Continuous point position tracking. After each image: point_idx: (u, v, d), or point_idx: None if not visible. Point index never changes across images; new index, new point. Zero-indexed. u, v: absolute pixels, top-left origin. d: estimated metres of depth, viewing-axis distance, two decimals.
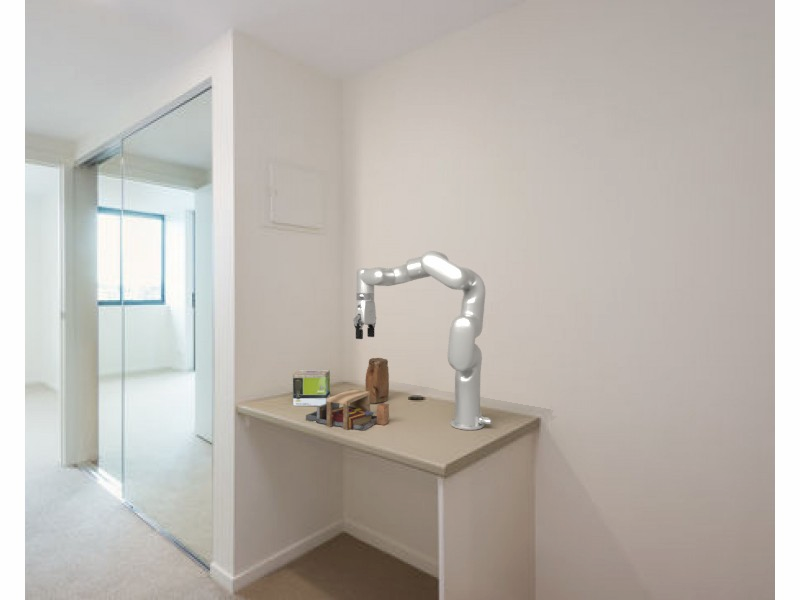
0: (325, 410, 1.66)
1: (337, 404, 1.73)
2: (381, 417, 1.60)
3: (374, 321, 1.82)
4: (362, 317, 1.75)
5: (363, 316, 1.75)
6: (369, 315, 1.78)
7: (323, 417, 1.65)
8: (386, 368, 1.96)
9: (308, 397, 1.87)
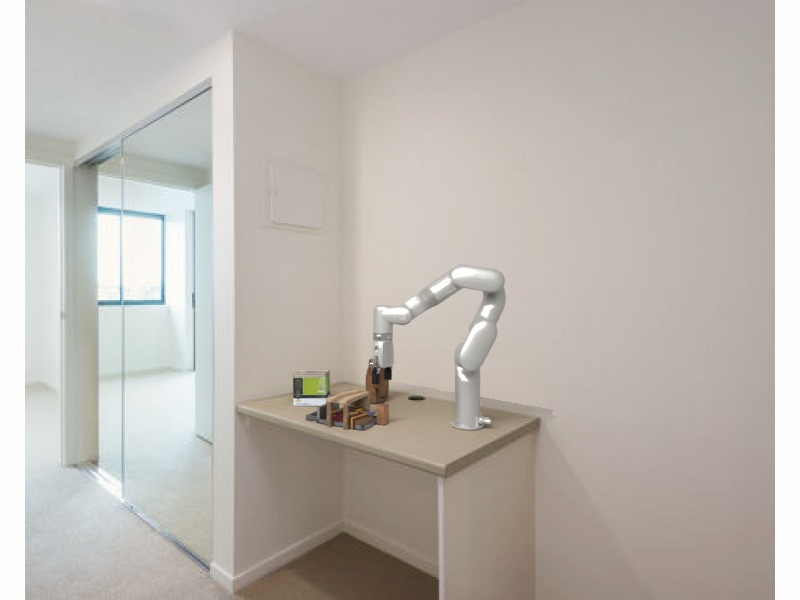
0: (325, 410, 1.66)
1: (337, 404, 1.73)
2: (381, 417, 1.60)
3: (392, 363, 1.64)
4: (379, 360, 1.57)
5: (381, 359, 1.57)
6: (387, 357, 1.60)
7: (323, 417, 1.64)
8: None
9: (308, 397, 1.87)
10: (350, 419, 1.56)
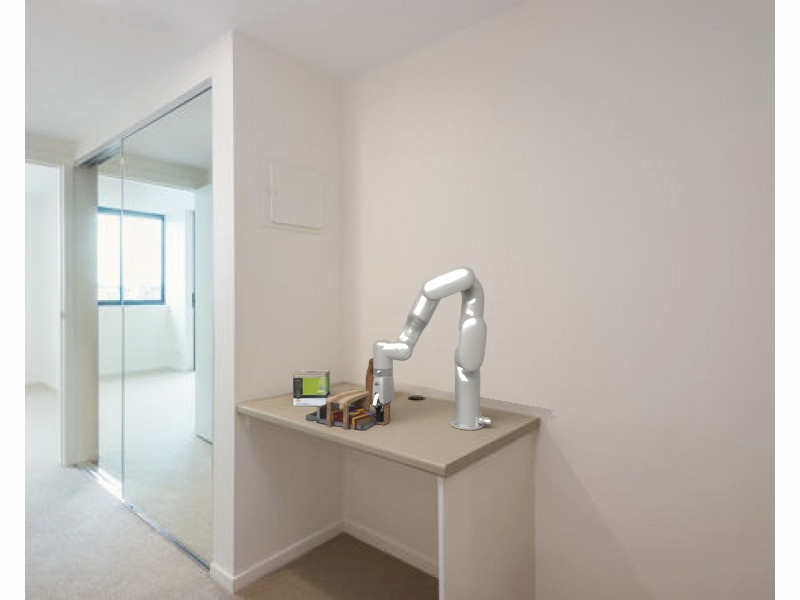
0: (325, 410, 1.66)
1: (337, 404, 1.73)
2: None
3: (393, 398, 1.64)
4: (380, 396, 1.57)
5: (381, 395, 1.57)
6: (387, 393, 1.60)
7: (323, 417, 1.64)
8: None
9: (308, 397, 1.87)
10: (352, 419, 1.56)
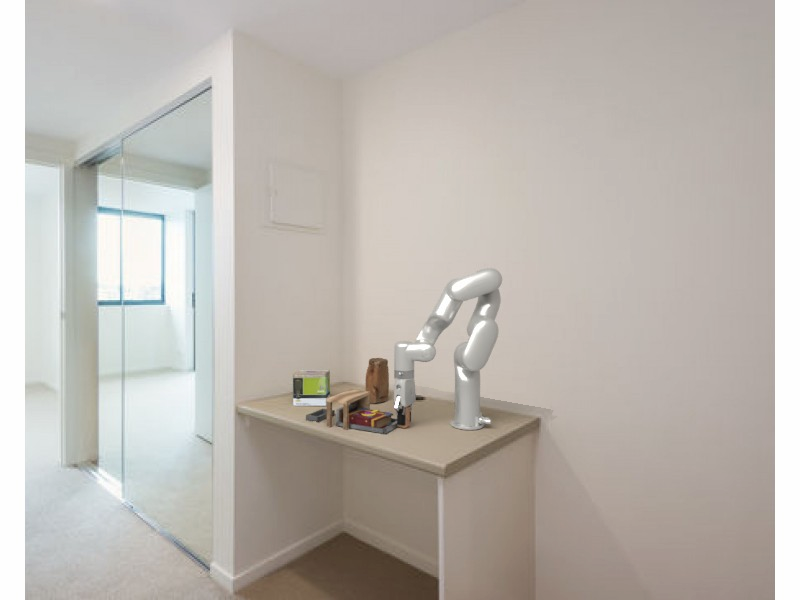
0: None
1: (356, 407, 1.69)
2: None
3: (414, 400, 1.60)
4: (402, 399, 1.53)
5: (403, 398, 1.53)
6: (409, 395, 1.56)
7: (342, 420, 1.61)
8: (386, 368, 1.96)
9: (308, 397, 1.87)
10: (371, 421, 1.54)
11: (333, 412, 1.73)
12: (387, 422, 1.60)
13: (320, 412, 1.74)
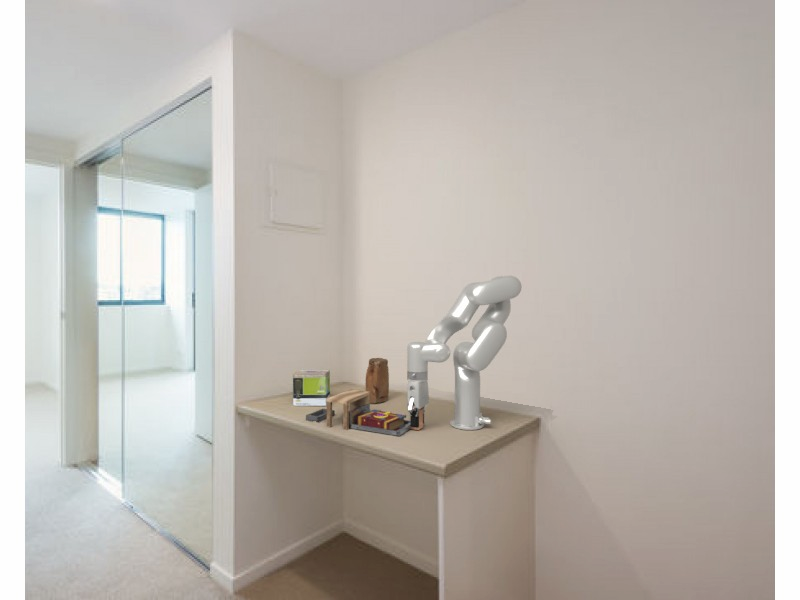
0: (356, 415, 1.59)
1: (368, 409, 1.67)
2: None
3: (427, 402, 1.58)
4: (415, 401, 1.51)
5: (417, 400, 1.51)
6: (423, 397, 1.54)
7: (355, 422, 1.58)
8: (386, 368, 1.96)
9: (308, 397, 1.87)
10: (383, 423, 1.51)
11: (333, 412, 1.73)
12: (400, 424, 1.57)
13: (320, 412, 1.74)
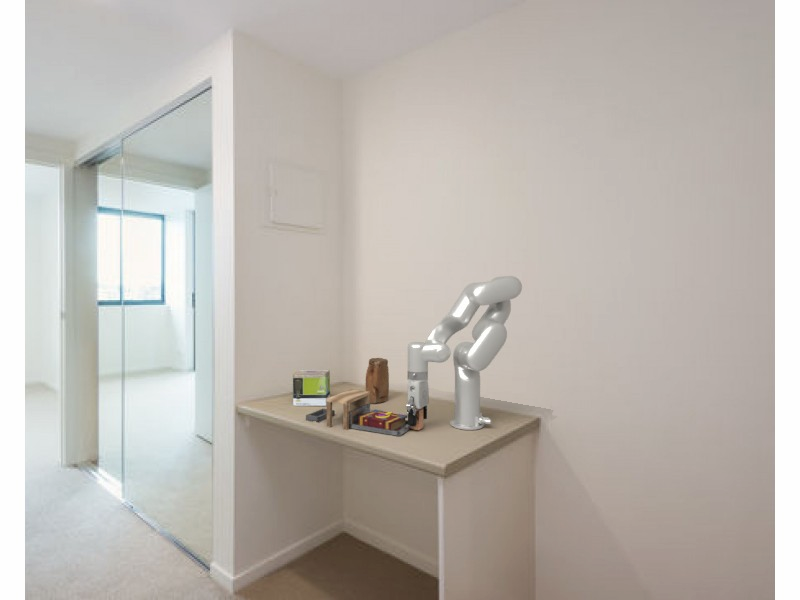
0: (357, 415, 1.59)
1: (368, 409, 1.67)
2: None
3: (427, 402, 1.58)
4: (416, 401, 1.51)
5: (417, 400, 1.51)
6: (423, 397, 1.54)
7: (355, 422, 1.58)
8: (386, 368, 1.96)
9: (308, 397, 1.87)
10: (385, 423, 1.51)
11: (333, 412, 1.73)
12: (401, 424, 1.57)
13: (320, 412, 1.74)
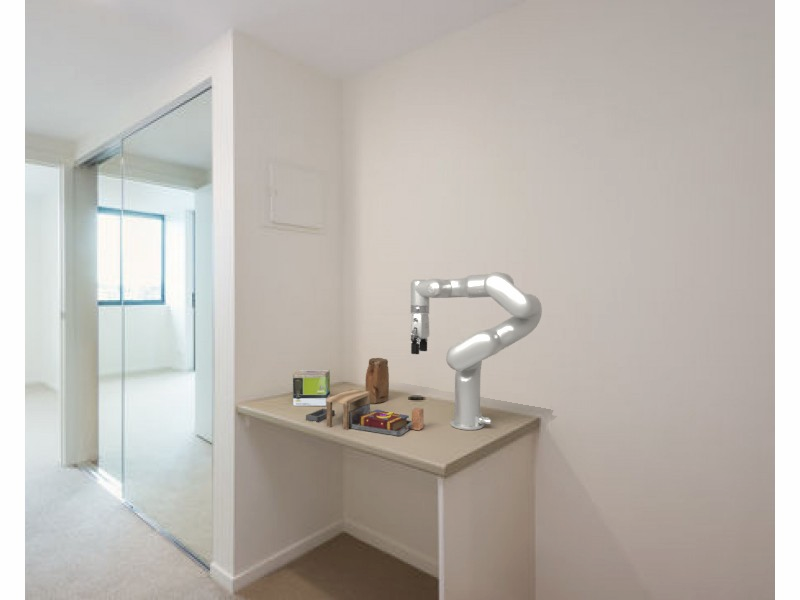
0: (357, 415, 1.59)
1: (368, 409, 1.67)
2: (416, 423, 1.54)
3: (428, 335, 1.73)
4: (419, 331, 1.65)
5: (420, 330, 1.65)
6: (425, 329, 1.68)
7: (355, 422, 1.58)
8: (386, 368, 1.96)
9: (308, 397, 1.87)
10: (387, 423, 1.51)
11: (333, 412, 1.73)
12: (403, 425, 1.57)
13: (320, 412, 1.74)
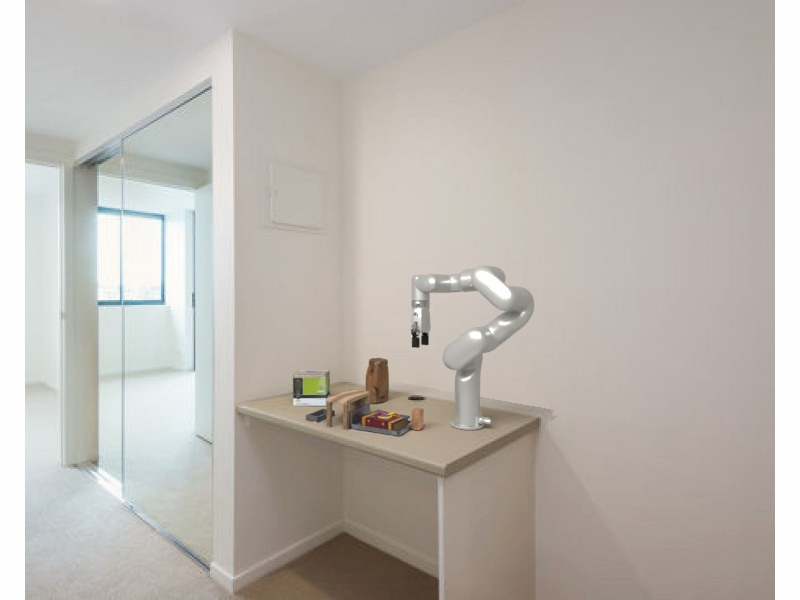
0: (357, 415, 1.59)
1: (368, 409, 1.67)
2: (416, 423, 1.54)
3: (429, 329, 1.77)
4: (419, 325, 1.70)
5: (420, 324, 1.70)
6: (425, 323, 1.73)
7: (355, 422, 1.58)
8: (386, 368, 1.96)
9: (308, 397, 1.87)
10: (388, 424, 1.51)
11: (333, 412, 1.73)
12: (404, 425, 1.56)
13: (320, 412, 1.74)
